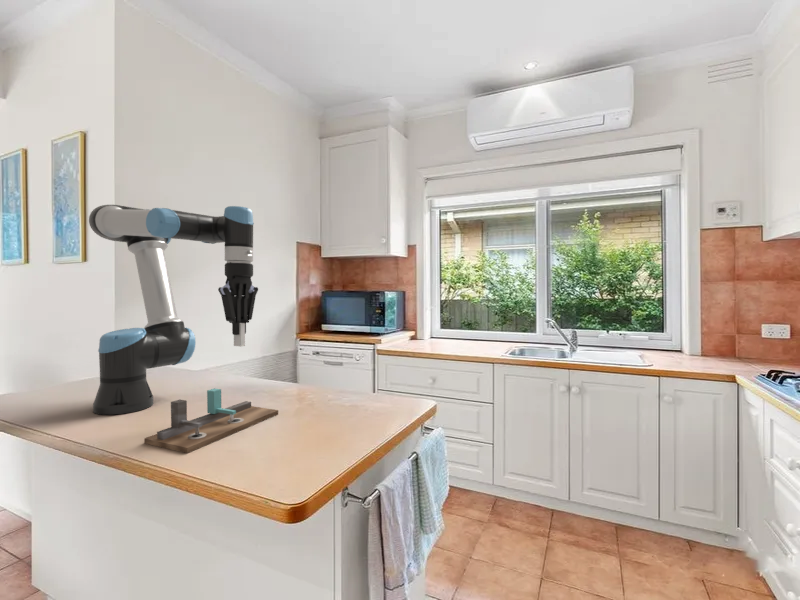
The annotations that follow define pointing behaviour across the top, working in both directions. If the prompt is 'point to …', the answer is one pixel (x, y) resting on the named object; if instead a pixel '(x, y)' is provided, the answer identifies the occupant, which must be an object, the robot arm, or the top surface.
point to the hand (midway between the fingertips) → (239, 345)
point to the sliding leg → (217, 403)
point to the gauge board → (205, 426)
